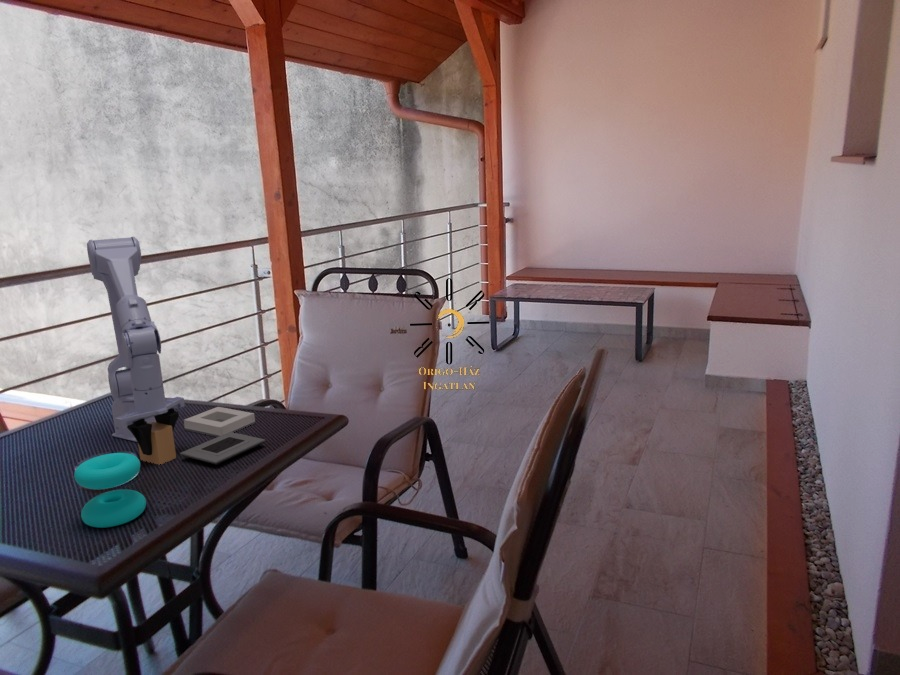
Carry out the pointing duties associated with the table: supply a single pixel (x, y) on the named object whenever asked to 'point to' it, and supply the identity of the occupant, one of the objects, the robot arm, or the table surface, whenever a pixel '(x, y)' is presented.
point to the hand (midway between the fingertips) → (157, 450)
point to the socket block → (219, 421)
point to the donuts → (114, 503)
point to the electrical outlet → (223, 448)
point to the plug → (160, 444)
